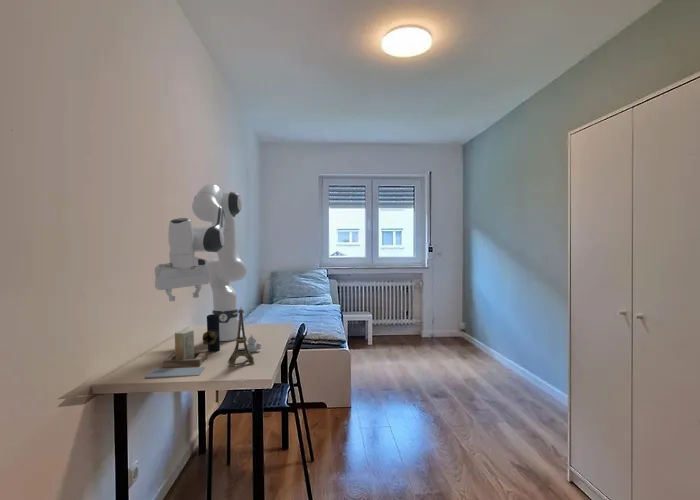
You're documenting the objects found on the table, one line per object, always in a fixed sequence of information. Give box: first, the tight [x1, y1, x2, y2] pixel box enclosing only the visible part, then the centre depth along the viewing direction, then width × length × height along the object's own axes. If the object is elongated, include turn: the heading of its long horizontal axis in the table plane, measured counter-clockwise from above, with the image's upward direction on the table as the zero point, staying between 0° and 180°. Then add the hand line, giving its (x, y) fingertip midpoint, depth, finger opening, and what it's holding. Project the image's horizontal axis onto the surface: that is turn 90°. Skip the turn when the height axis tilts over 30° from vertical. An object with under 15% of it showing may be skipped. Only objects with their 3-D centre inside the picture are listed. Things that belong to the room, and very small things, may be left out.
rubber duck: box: [246, 334, 262, 354], centre depth 189 cm, size 5×7×8 cm
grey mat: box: [144, 366, 206, 379], centre depth 160 cm, size 10×18×1 cm, turn 97°
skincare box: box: [174, 329, 195, 360], centre depth 173 cm, size 6×4×12 cm
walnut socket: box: [162, 351, 207, 369], centre depth 173 cm, size 13×13×2 cm
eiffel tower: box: [227, 308, 255, 368], centre depth 171 cm, size 11×11×25 cm
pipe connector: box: [202, 314, 221, 353], centre depth 189 cm, size 12×5×15 cm, turn 4°
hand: (184, 299), depth 167 cm, fingers open, 8 cm apart
